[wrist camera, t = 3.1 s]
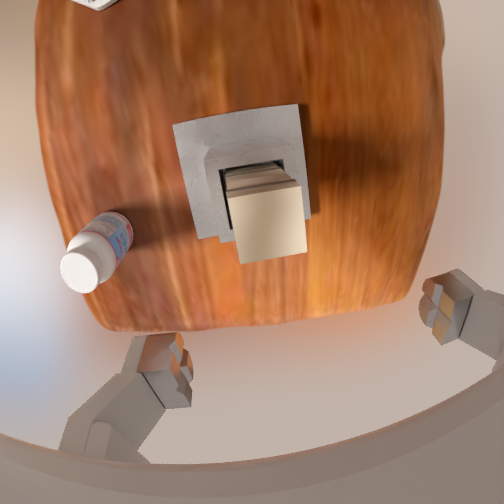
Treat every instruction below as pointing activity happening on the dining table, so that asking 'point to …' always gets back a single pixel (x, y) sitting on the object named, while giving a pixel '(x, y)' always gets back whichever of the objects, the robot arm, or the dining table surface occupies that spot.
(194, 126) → the sleeve
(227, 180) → the post
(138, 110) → the dining table surface
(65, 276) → the pill bottle
